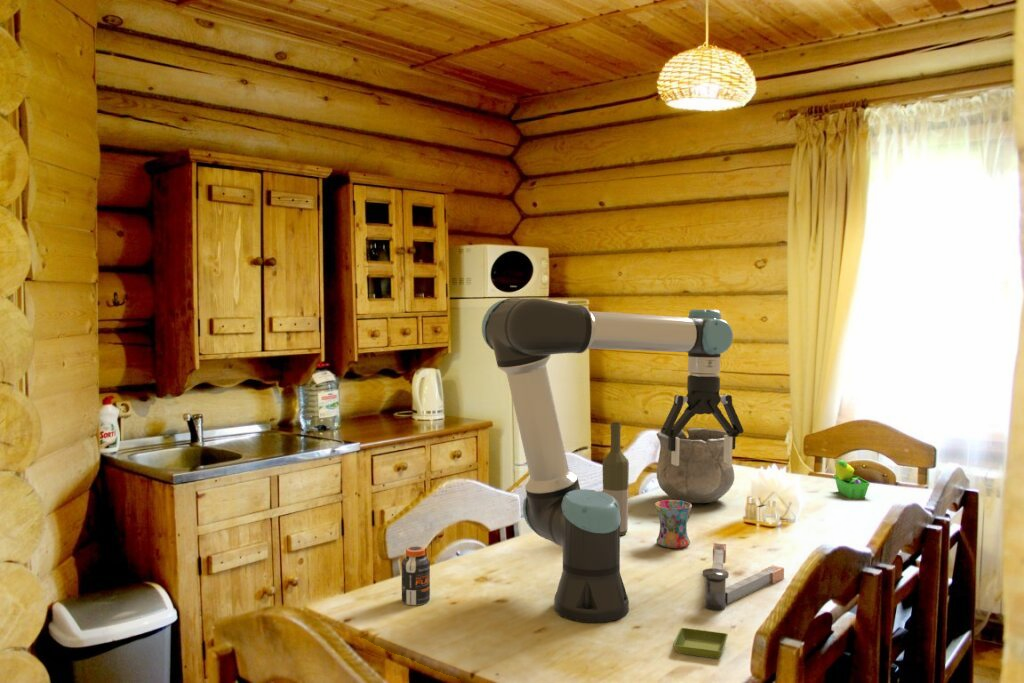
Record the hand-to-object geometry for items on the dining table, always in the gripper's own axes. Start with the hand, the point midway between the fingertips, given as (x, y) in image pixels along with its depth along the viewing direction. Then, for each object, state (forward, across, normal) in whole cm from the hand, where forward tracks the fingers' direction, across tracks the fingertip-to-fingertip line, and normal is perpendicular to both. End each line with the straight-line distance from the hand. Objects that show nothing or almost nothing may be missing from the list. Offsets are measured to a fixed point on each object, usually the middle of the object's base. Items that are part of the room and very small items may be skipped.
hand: (701, 464), depth 199 cm
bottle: (+24, -10, +29) cm, 39 cm away
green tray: (+25, -22, -44) cm, 55 cm away
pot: (+23, +26, +56) cm, 66 cm away
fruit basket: (+22, +78, +51) cm, 96 cm away
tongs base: (+24, +1, -20) cm, 31 cm away
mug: (+24, +2, +16) cm, 29 cm away
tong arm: (+21, -2, -14) cm, 25 cm away
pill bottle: (+26, -68, -7) cm, 74 cm away
